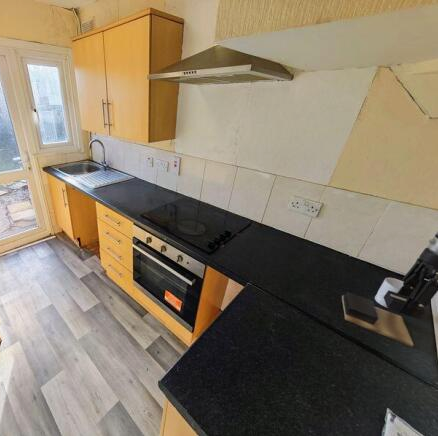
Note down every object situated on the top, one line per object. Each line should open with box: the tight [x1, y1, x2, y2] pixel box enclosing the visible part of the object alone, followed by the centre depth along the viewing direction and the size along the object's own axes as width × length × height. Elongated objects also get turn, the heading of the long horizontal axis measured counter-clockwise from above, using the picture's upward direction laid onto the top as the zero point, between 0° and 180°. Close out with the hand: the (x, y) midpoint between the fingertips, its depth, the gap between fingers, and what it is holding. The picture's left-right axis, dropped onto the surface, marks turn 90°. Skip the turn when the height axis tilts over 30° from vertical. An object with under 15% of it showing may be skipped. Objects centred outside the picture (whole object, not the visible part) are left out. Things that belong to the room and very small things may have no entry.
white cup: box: [374, 277, 412, 309], centre depth 90 cm, size 8×8×10 cm
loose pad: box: [384, 290, 426, 320], centre depth 78 cm, size 8×6×4 cm
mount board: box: [341, 291, 415, 347], centre depth 84 cm, size 18×14×4 cm
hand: (400, 307), depth 79 cm, fingers closed on loose pad, 6 cm apart
